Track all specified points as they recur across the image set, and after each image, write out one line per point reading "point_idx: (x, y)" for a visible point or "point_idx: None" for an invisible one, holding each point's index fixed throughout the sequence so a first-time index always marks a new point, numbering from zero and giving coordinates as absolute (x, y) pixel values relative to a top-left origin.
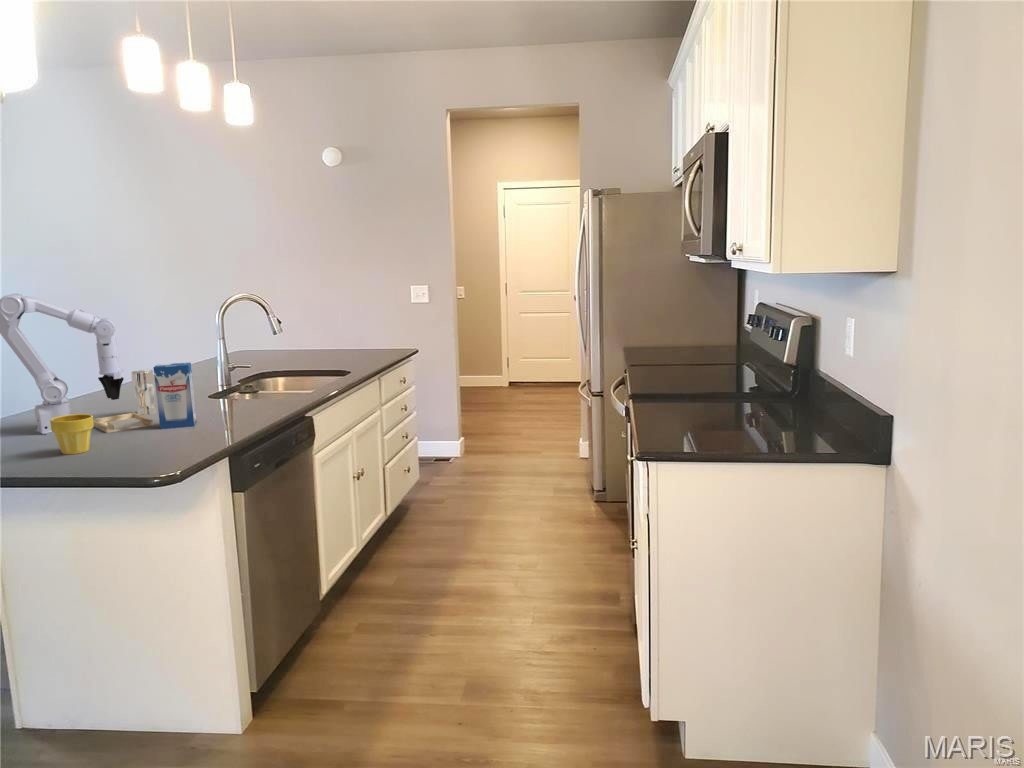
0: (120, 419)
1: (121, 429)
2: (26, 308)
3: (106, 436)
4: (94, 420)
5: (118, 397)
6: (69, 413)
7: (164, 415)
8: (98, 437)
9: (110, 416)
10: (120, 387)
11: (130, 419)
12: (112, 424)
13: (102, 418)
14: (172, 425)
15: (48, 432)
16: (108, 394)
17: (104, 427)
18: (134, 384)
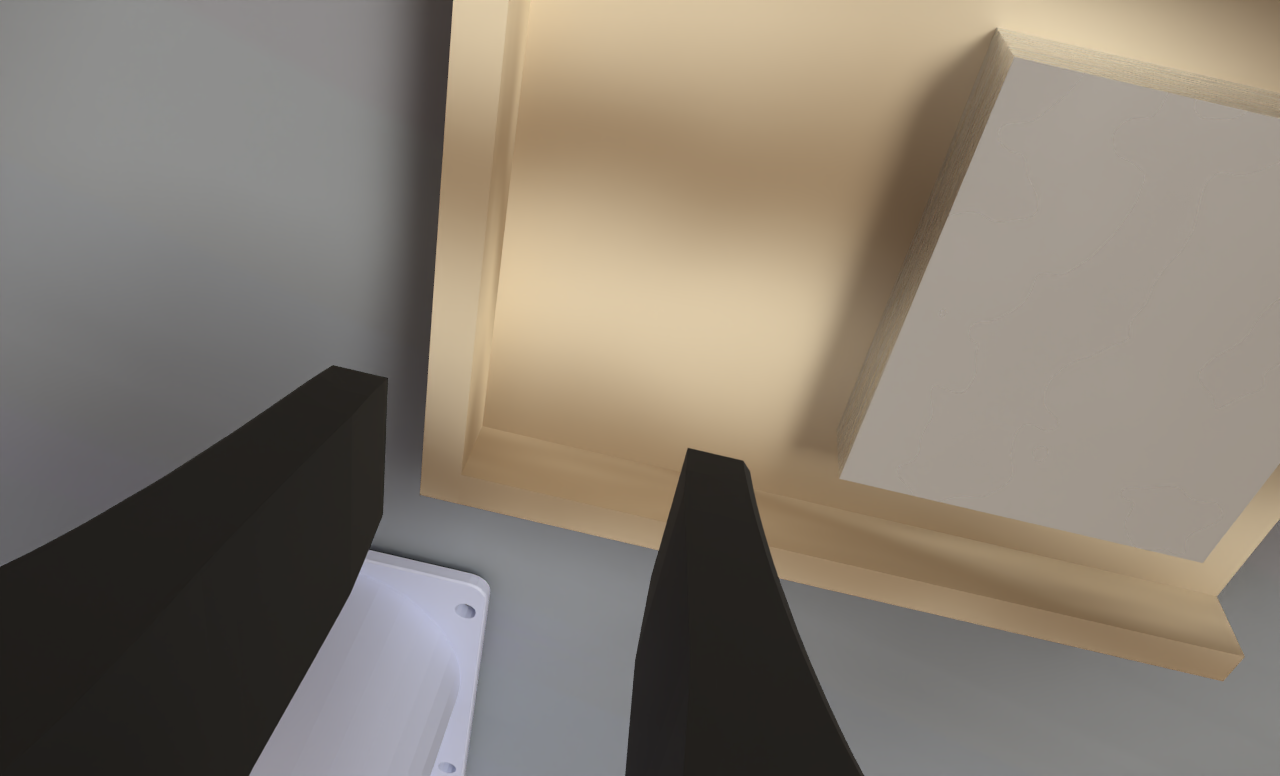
0: (520, 58)
1: None
2: None
3: (1260, 641)
4: (539, 497)
5: (749, 500)
6: (350, 770)
7: None
8: (1189, 690)
9: (438, 229)
10: (846, 754)
11: (1095, 195)
12: (1106, 536)
13: (471, 363)
14: None
15: (462, 769)
16: (335, 582)
17: (1136, 653)
18: None
